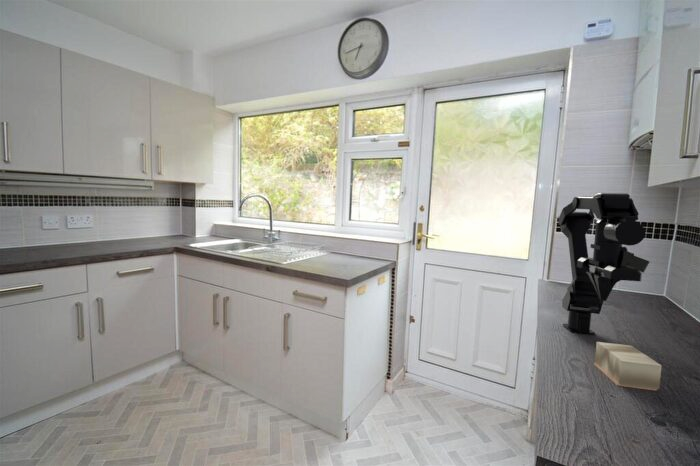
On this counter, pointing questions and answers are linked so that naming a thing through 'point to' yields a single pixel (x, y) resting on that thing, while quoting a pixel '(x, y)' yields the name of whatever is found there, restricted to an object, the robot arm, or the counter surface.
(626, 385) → the pad
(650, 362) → the birch block
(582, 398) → the counter surface
